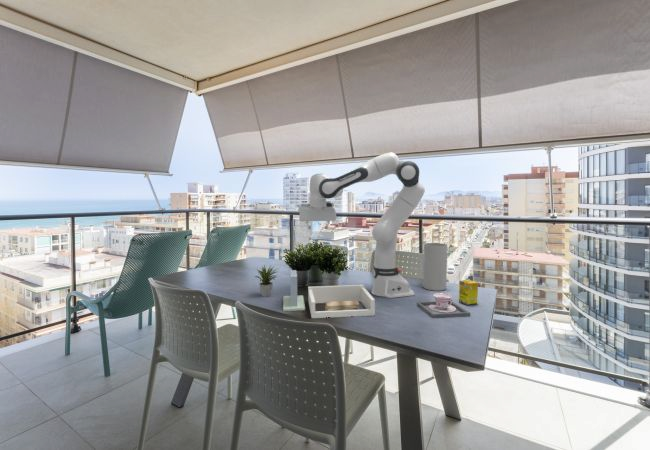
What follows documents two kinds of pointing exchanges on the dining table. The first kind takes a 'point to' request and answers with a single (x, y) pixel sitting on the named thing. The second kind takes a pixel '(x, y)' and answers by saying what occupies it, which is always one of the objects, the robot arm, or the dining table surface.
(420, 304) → the coaster tray
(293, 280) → the light grey square panel
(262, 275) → the house plant
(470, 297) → the supplement box
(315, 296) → the white open bin
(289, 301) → the sage board
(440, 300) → the teacup
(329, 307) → the offcut stack
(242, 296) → the dining table surface
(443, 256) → the cylinder vase
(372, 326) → the dining table surface
